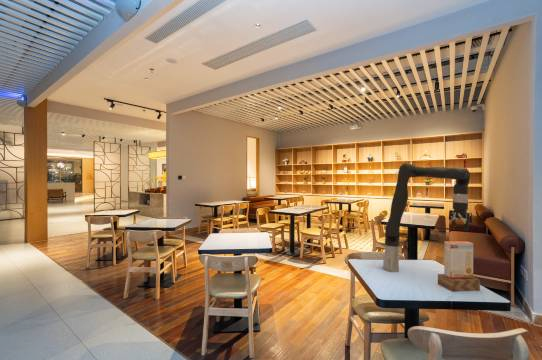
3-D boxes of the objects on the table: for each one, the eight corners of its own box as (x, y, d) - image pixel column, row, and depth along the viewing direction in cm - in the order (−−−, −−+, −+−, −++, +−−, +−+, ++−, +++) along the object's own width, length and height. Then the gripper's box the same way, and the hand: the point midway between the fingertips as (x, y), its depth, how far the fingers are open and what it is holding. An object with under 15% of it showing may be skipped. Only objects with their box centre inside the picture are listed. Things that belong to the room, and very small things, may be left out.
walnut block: (452, 291, 155) (452, 280, 155) (437, 284, 166) (437, 274, 166) (479, 290, 158) (479, 279, 158) (463, 282, 168) (463, 273, 168)
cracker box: (465, 275, 165) (466, 240, 165) (473, 278, 159) (474, 243, 159) (443, 275, 164) (444, 240, 164) (450, 278, 158) (451, 242, 158)
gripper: (445, 200, 168) (444, 226, 168) (465, 202, 154) (464, 231, 154) (456, 200, 169) (455, 226, 169) (476, 202, 155) (476, 231, 155)
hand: (459, 228), depth 161 cm, fingers open, 8 cm apart
